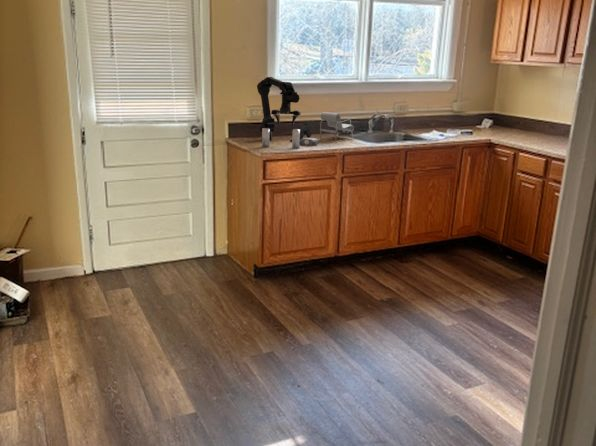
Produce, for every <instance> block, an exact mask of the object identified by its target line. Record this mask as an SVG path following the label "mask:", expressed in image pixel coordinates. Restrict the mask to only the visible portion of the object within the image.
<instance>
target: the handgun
mask: <svg viewBox="0 0 596 446" xmlns="http://www.w3.org/2000/svg"><path fill="white" fill-rule="evenodd" d="M304 136H306V138H312V132H311V130H310V123H309V122H308V121H305V123H304V125H303V126H302V127H301V128H300V140H301V139H303V138H304Z"/></svg>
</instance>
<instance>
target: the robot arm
mask: <svg viewBox="0 0 596 446" xmlns="http://www.w3.org/2000/svg"><path fill="white" fill-rule="evenodd" d="M272 86H274V87H277V88H279V90H280V91H281V92H280V93H279V94H280V95H281V106H280V107H279V109H272V110H271V108H270V101H269V98H270V97H269V94H270V92H271V88H272ZM256 89H257V92H258V94H259V96H260V99H261V106H262V114H263V118H262V120H261V125H260V127H259V129H258V130H259V131H260V132H261V133H262V128H270V137H269V142H270V141H272V140H273V133H272V132H274V131H275V127H276V122H275V119H276V121H277V124H278V126H280V124H281V121H280V120H281V117H280V116H281V115H292V120H291V126H292V127H294V124H295V121H296V119H297V118H298V117H299V116H300V115H301V112H302V111H301V110H295V109H294V110H293V111H292V110H291V109H292V108H291V106H292V105H291V104H292V103H293V104H296V103H299V101H300V95H299V94H298V91H296V89H295V88H294V86H293V84H292V82H291V81H282V80H280V79H278V78H275V77H273V76H267V77H265V78H264V79H262V80H261V81H259V82H258V83H257V84H256ZM272 115H273V116H274V117H275V118H274V117H272ZM260 141H262V138H261V139H260Z"/></svg>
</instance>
